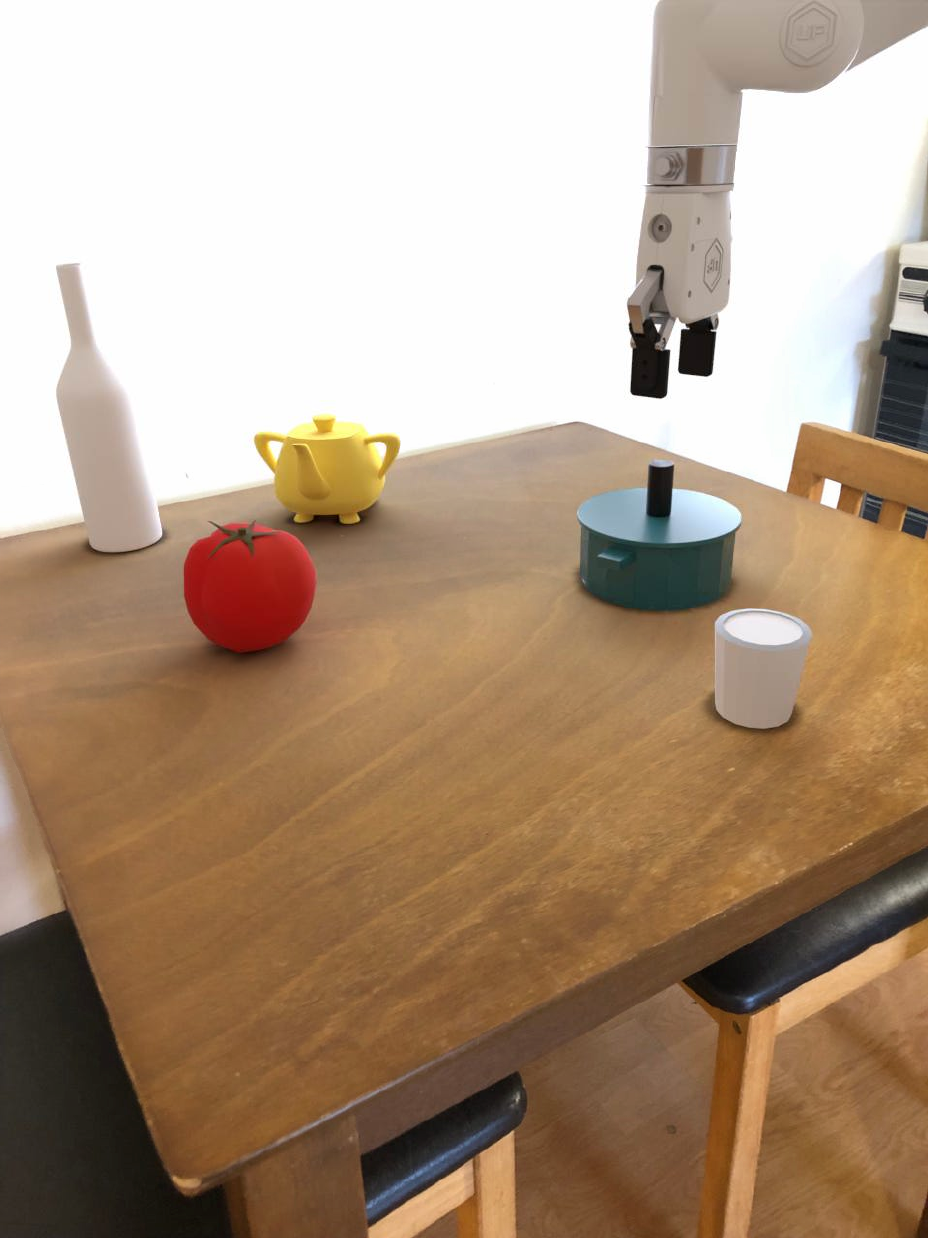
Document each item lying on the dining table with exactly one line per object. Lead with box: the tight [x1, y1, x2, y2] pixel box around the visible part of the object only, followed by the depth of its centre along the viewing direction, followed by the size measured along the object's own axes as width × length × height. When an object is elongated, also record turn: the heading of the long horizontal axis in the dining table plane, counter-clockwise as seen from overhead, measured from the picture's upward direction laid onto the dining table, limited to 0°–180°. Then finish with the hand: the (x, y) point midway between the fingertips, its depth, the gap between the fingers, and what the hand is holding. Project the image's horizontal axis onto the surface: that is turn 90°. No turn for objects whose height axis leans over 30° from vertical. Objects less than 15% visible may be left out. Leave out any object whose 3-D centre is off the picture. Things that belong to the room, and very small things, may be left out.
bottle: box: [55, 262, 163, 553], centre depth 101 cm, size 8×8×30 cm
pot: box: [579, 525, 736, 612], centre depth 92 cm, size 15×20×6 cm
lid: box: [576, 459, 743, 548], centre depth 89 cm, size 16×16×6 cm
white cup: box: [714, 607, 813, 730], centre depth 70 cm, size 7×7×7 cm
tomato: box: [183, 519, 317, 654], centre depth 82 cm, size 12×12×11 cm
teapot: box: [253, 413, 401, 525], centre depth 112 cm, size 14×14×12 cm
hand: (672, 384), depth 83 cm, fingers open, 9 cm apart
